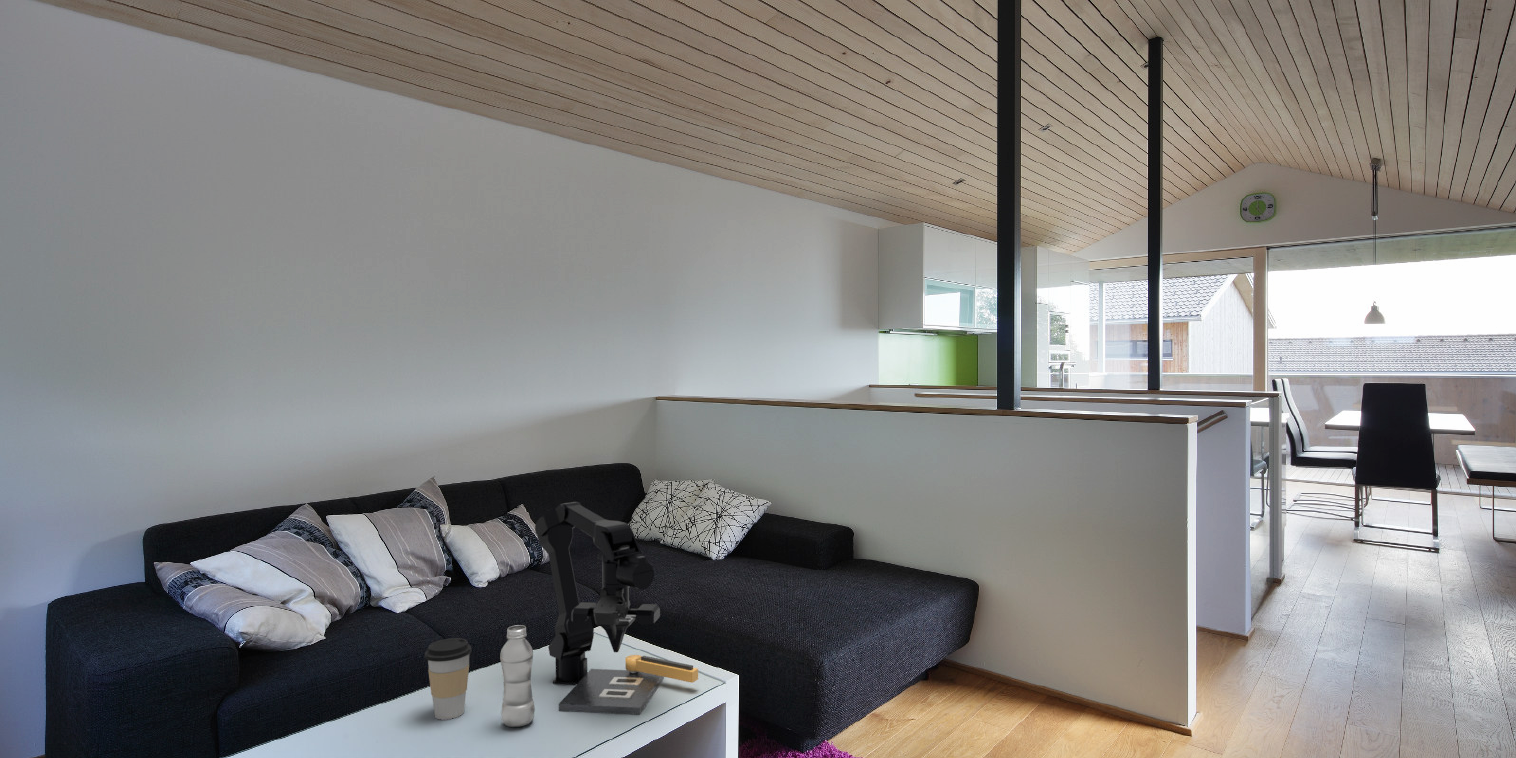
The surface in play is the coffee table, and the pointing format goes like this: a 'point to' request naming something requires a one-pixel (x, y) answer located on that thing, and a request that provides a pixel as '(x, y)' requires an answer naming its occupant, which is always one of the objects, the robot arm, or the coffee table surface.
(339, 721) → the coffee table surface
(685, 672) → the bar
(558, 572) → the robot arm
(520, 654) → the plastic bottle
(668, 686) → the coffee table surface
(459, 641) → the coffee cup
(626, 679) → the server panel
